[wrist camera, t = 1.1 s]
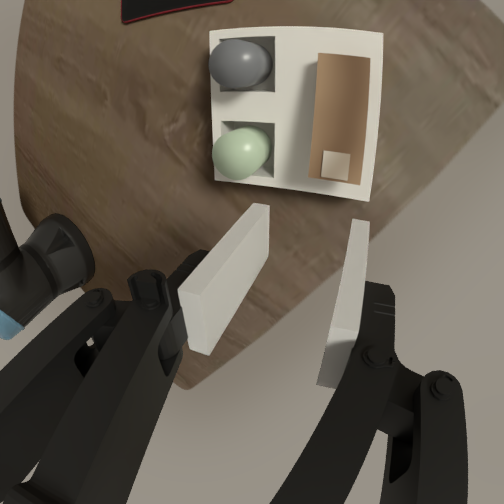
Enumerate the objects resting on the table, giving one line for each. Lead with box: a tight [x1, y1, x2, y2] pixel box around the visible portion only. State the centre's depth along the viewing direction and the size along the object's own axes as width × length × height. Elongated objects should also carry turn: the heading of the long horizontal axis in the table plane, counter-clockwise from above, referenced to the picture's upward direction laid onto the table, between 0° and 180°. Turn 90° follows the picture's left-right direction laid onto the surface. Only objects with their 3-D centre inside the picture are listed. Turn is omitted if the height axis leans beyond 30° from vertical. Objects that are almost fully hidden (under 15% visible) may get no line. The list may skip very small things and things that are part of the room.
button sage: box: [212, 125, 272, 180], centre depth 27 cm, size 4×4×4 cm
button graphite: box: [209, 39, 273, 88], centre depth 23 cm, size 4×4×4 cm
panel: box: [210, 26, 383, 202], centre depth 26 cm, size 15×15×5 cm
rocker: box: [308, 53, 370, 185], centre depth 22 cm, size 4×10×2 cm, turn 1°
